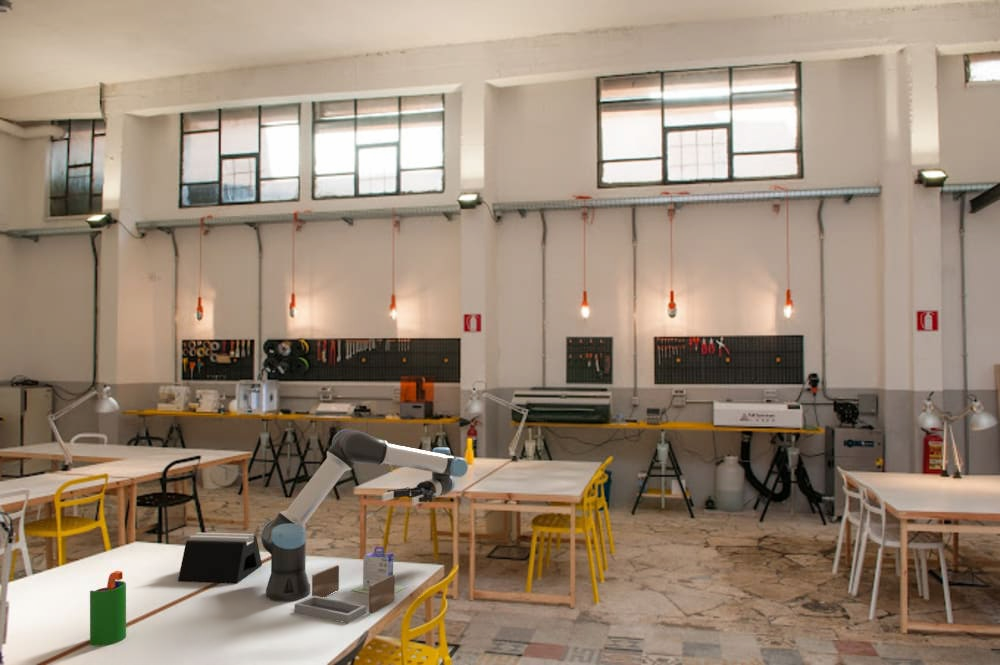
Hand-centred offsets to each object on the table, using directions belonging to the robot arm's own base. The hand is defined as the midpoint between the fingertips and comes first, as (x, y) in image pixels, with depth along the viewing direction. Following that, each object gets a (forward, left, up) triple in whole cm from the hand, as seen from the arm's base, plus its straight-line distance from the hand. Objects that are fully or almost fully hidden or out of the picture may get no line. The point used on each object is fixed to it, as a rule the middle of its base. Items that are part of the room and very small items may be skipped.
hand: (397, 499), depth 279 cm
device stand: (-64, -24, -30) cm, 75 cm away
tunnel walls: (0, -26, -30) cm, 40 cm away
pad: (0, -12, -30) cm, 32 cm away
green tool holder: (-44, -86, -30) cm, 101 cm away
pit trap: (0, -38, -30) cm, 49 cm away
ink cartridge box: (0, -12, -30) cm, 32 cm away
